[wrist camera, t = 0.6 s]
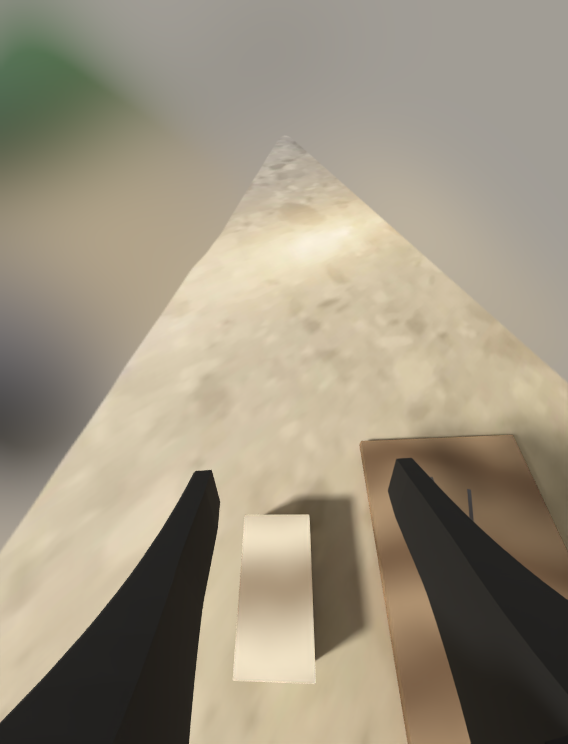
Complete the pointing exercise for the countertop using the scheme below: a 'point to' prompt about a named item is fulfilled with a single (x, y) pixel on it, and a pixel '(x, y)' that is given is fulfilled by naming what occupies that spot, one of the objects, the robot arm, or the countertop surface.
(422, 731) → the oak board
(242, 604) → the block
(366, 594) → the countertop surface
